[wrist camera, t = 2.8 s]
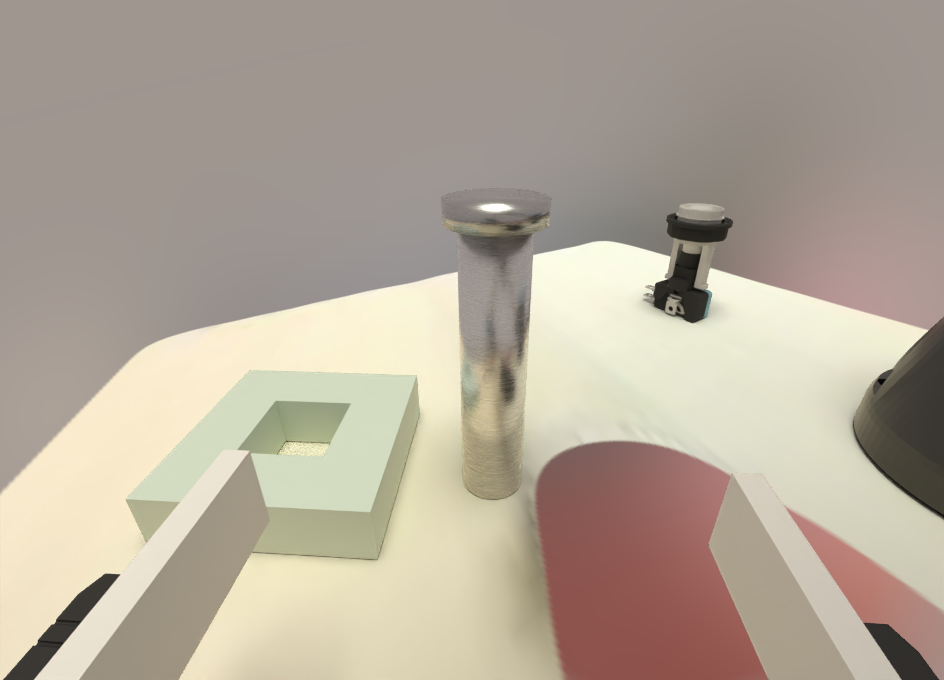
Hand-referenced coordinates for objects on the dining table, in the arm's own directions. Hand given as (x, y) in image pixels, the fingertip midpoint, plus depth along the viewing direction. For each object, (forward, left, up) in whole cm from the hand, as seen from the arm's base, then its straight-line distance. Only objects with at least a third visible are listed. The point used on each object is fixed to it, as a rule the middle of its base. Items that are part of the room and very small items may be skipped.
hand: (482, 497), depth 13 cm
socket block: (+10, -10, -9) cm, 17 cm away
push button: (-17, -34, -9) cm, 39 cm away
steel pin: (0, -10, -9) cm, 13 cm away
